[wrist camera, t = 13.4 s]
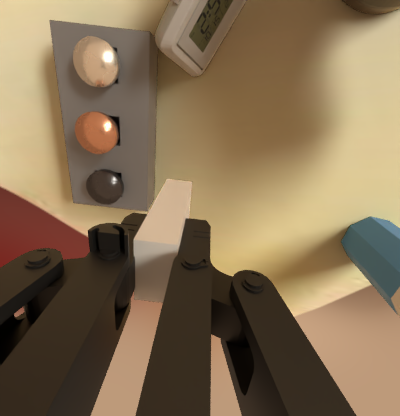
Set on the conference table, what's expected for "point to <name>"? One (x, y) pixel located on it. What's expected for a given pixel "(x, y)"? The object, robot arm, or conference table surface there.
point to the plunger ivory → (96, 62)
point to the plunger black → (105, 186)
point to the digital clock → (195, 31)
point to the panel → (111, 111)
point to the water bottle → (377, 256)
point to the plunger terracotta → (97, 132)
